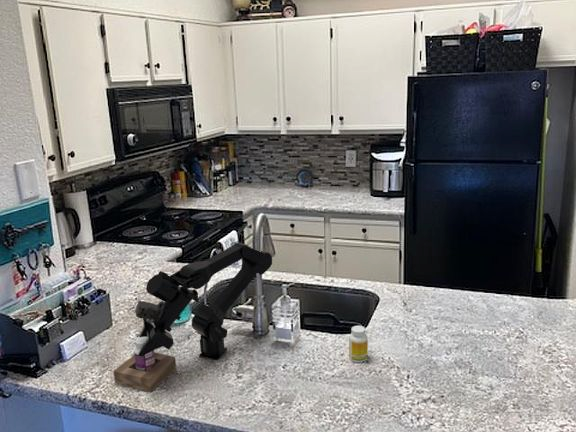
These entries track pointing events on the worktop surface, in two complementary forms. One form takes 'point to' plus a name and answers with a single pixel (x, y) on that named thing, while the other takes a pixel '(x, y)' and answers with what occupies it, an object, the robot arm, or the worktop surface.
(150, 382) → the socket block
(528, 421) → the worktop surface
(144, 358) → the pill bottle
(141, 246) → the worktop surface
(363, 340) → the supplement bottle
